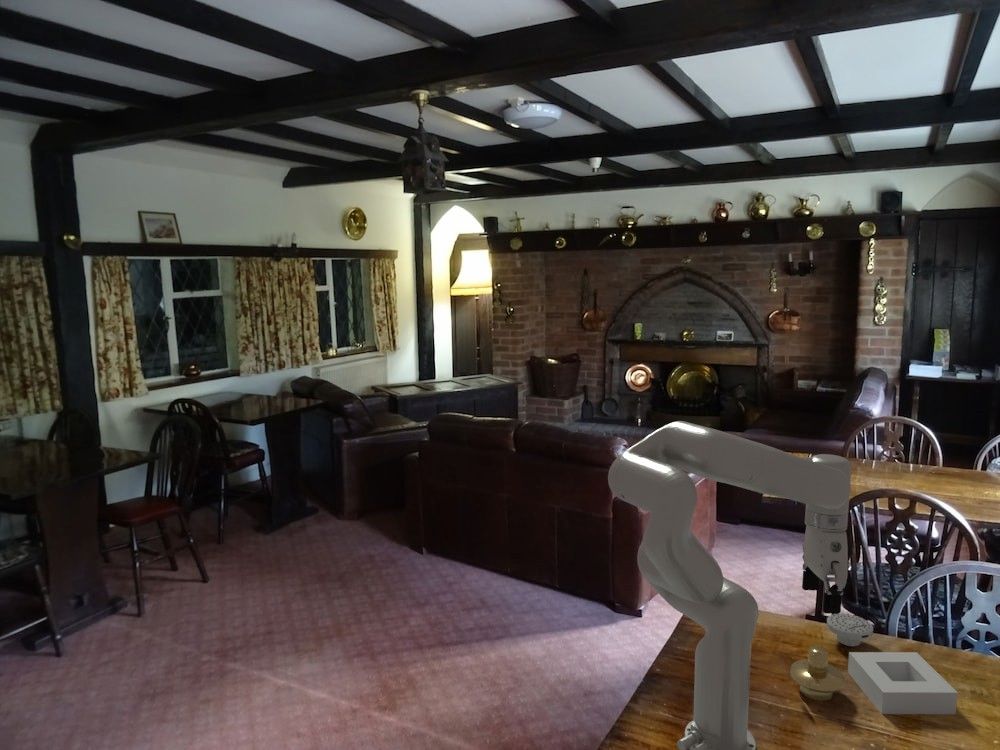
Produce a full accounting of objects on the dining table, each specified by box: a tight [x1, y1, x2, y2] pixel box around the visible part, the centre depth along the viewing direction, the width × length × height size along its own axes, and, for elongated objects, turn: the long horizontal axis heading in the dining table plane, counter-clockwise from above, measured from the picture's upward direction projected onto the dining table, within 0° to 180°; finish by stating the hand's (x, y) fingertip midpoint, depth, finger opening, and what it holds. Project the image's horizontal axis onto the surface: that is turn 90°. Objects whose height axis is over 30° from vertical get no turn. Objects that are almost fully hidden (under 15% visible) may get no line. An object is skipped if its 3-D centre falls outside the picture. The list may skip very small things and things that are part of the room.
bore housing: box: [847, 651, 959, 715], centre depth 140 cm, size 14×14×6 cm
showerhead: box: [826, 612, 874, 647], centre depth 158 cm, size 9×7×10 cm
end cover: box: [789, 645, 846, 703], centre depth 140 cm, size 10×10×10 cm
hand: (820, 600), depth 138 cm, fingers open, 9 cm apart
